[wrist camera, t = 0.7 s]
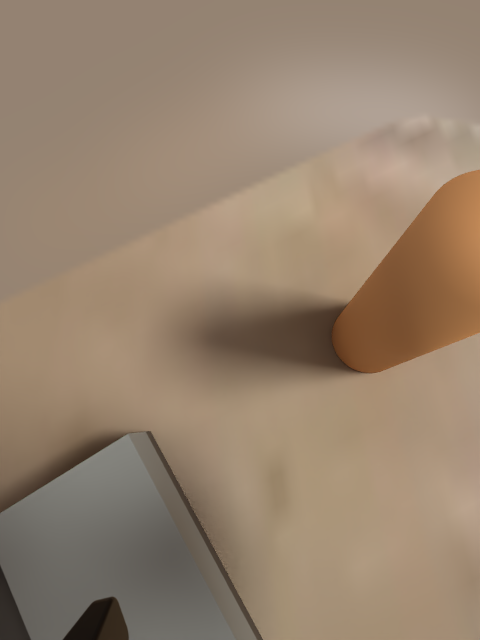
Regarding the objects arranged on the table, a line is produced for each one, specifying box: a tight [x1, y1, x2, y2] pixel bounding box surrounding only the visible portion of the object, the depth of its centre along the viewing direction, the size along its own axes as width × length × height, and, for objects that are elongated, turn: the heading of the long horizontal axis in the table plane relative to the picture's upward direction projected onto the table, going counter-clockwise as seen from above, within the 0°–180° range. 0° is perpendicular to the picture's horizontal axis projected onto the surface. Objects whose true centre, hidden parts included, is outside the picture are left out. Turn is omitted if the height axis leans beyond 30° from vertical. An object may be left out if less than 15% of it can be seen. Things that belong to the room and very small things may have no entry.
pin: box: [332, 170, 480, 373], centre depth 17 cm, size 4×4×13 cm
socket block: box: [0, 431, 263, 640], centre depth 18 cm, size 12×14×4 cm
